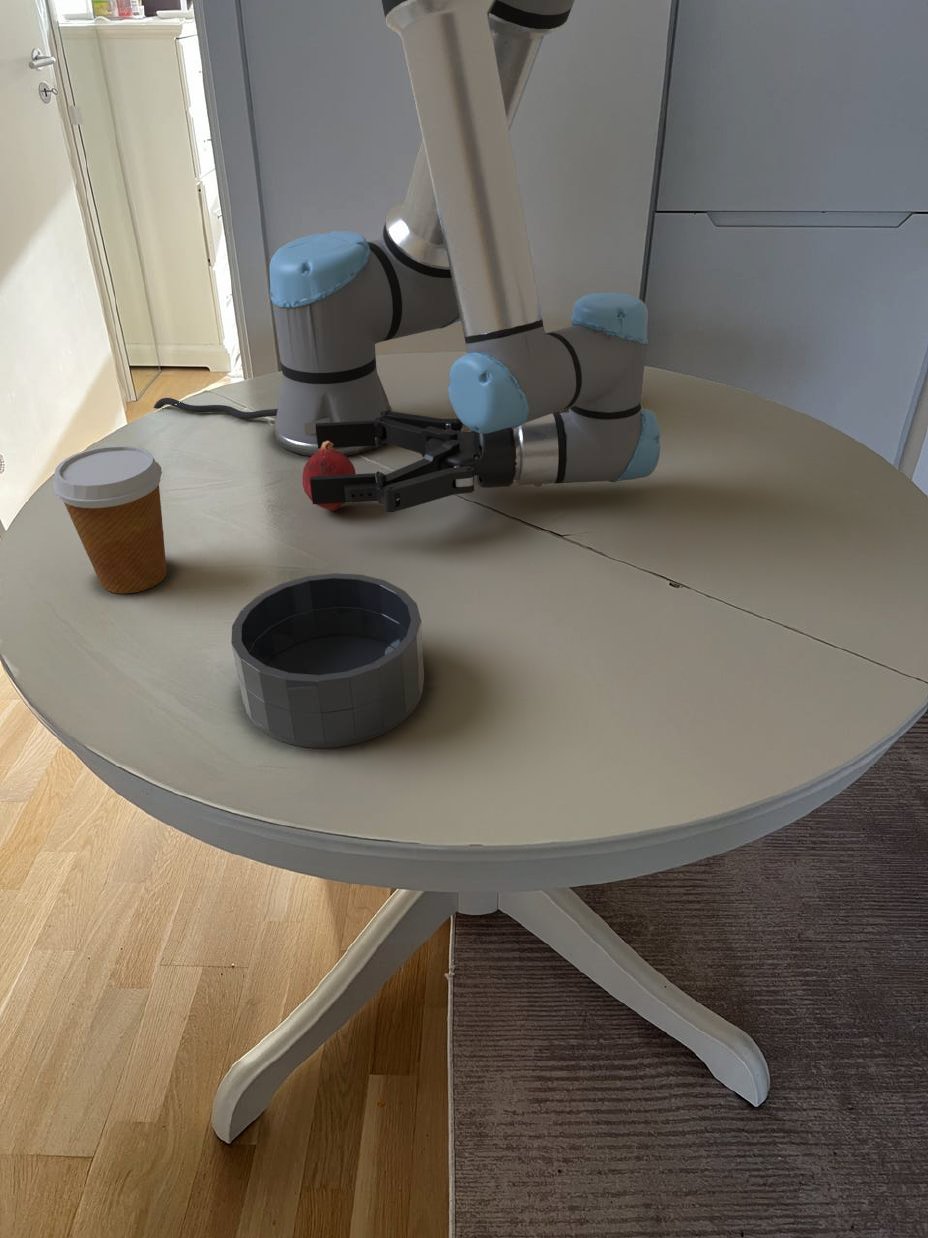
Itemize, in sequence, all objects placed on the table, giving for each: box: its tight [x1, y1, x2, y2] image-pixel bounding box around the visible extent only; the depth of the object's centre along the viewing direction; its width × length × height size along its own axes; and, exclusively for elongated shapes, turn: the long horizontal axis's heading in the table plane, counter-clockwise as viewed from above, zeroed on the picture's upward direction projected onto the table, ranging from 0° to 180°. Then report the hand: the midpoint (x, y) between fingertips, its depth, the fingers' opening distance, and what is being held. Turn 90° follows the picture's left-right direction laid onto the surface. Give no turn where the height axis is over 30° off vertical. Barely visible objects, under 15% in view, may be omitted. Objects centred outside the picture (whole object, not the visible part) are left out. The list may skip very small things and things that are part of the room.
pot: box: [230, 572, 425, 749], centre depth 74 cm, size 15×15×6 cm
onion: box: [301, 441, 357, 512], centre depth 99 cm, size 6×6×8 cm
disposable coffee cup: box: [52, 444, 168, 595], centre depth 87 cm, size 10×10×12 cm
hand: (313, 461), depth 97 cm, fingers open, 13 cm apart
